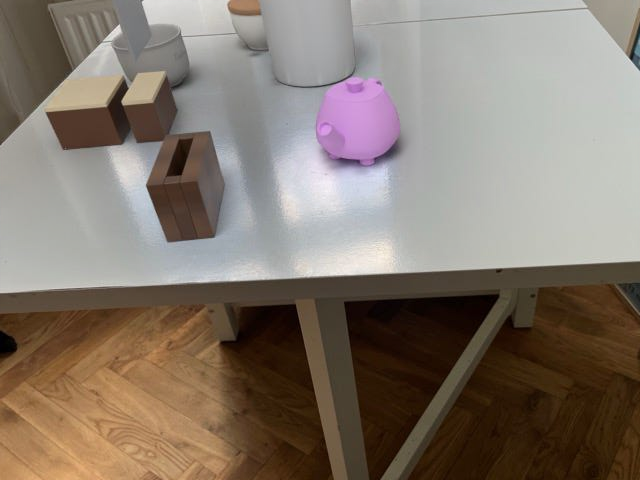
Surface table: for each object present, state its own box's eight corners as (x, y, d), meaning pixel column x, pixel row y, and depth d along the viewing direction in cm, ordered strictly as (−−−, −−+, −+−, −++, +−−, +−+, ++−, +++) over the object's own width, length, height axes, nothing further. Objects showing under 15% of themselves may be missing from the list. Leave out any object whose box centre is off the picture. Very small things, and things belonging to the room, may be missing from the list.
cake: (62, 149, 76) (43, 108, 72) (83, 118, 84) (67, 79, 80) (121, 144, 77) (105, 102, 73) (137, 113, 84) (123, 74, 80)
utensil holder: (254, 85, 90) (229, -36, 79) (292, 53, 101) (275, -58, 89) (338, 92, 87) (326, -34, 75) (368, 58, 97) (361, -57, 85)
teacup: (198, 89, 90) (184, 37, 85) (128, 102, 88) (110, 49, 82) (188, 61, 100) (174, 14, 95) (125, 72, 97) (108, 24, 92)
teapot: (416, 135, 75) (416, 65, 69) (365, 190, 65) (359, 114, 59) (349, 123, 78) (343, 55, 72) (291, 173, 69) (278, 100, 62)
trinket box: (242, 58, 100) (230, 2, 94) (231, 41, 108) (220, -13, 101) (299, 48, 103) (291, -8, 96) (285, 32, 110) (277, -21, 104)
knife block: (214, 237, 59) (196, 180, 55) (167, 242, 59) (145, 185, 54) (224, 184, 67) (210, 130, 63) (183, 188, 67) (165, 134, 62)
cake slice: (136, 143, 77) (121, 101, 73) (151, 112, 84) (137, 73, 80) (165, 140, 77) (151, 98, 73) (177, 110, 84) (165, 70, 80)
